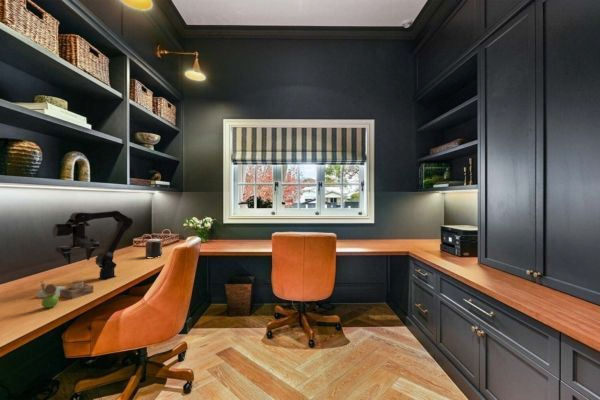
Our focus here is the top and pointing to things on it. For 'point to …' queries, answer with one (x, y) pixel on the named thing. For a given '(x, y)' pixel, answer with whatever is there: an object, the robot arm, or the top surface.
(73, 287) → the peg
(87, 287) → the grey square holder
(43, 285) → the snail figurine
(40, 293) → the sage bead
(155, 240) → the jar
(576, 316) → the top surface
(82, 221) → the robot arm
